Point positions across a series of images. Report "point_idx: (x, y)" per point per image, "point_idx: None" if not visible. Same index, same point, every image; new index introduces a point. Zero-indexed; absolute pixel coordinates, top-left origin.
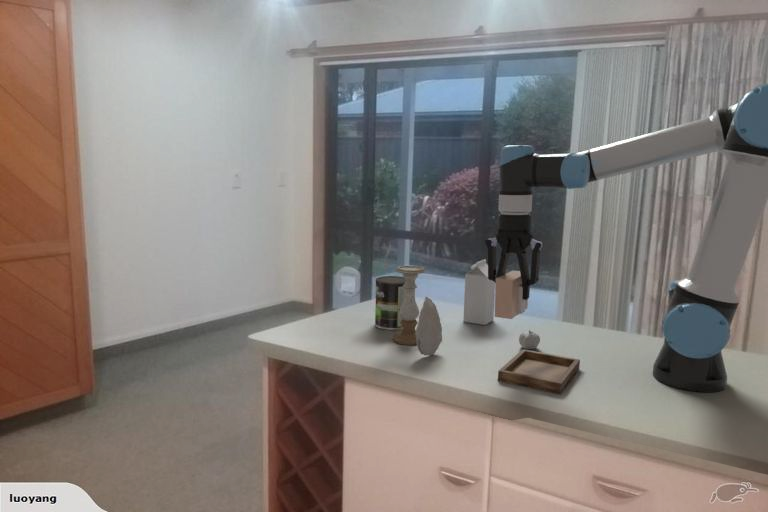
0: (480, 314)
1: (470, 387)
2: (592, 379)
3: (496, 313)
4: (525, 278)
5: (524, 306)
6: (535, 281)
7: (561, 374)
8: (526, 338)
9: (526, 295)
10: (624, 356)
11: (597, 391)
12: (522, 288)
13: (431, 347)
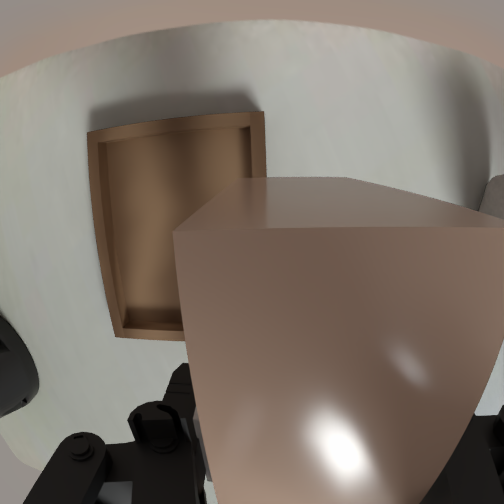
0: None
1: (307, 37)
2: (80, 275)
3: (340, 178)
4: (144, 489)
5: None
6: (61, 454)
7: (129, 246)
8: None
9: (177, 382)
10: (102, 426)
11: (51, 208)
12: (197, 414)
13: (492, 198)
